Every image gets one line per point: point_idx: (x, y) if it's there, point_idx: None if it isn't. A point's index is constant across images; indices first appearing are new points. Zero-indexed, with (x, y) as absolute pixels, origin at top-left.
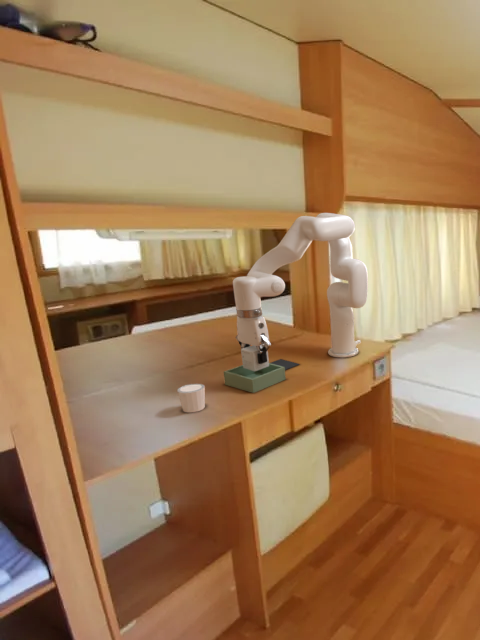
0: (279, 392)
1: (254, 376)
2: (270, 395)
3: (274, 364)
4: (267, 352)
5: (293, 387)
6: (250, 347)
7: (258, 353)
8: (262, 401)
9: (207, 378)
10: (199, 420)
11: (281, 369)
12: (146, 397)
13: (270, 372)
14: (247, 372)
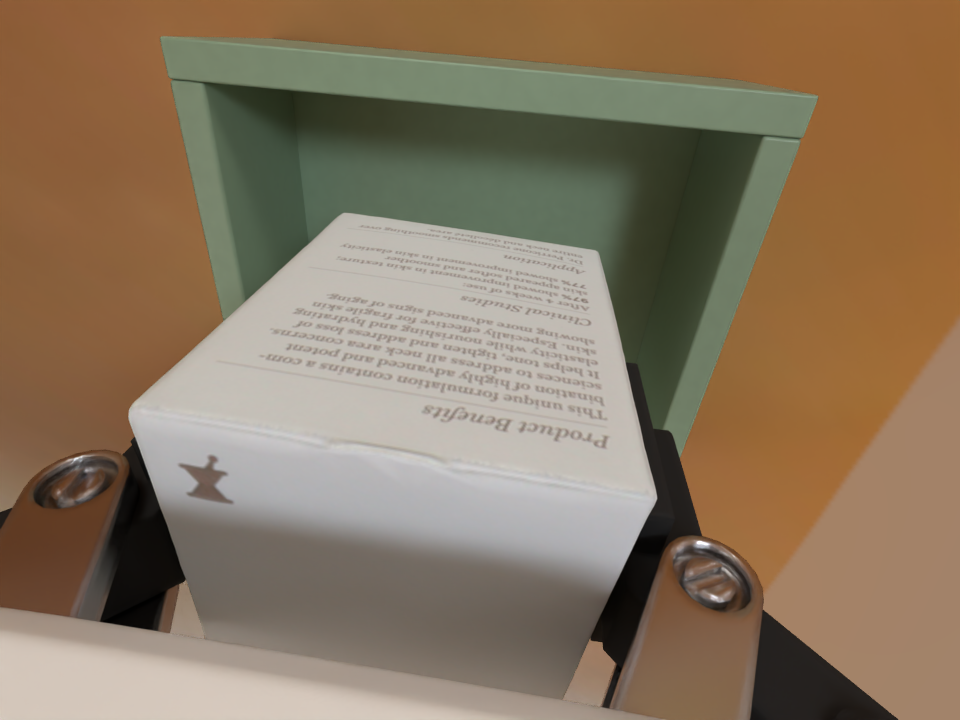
0: (841, 375)
1: (377, 206)
2: (789, 438)
3: (570, 79)
4: (632, 407)
5: (947, 236)
6: (270, 595)
7: (601, 628)
8: (783, 518)
9: (103, 365)
10: (594, 692)
11: (782, 171)
12: (175, 608)
13: (716, 360)
14: (289, 230)
